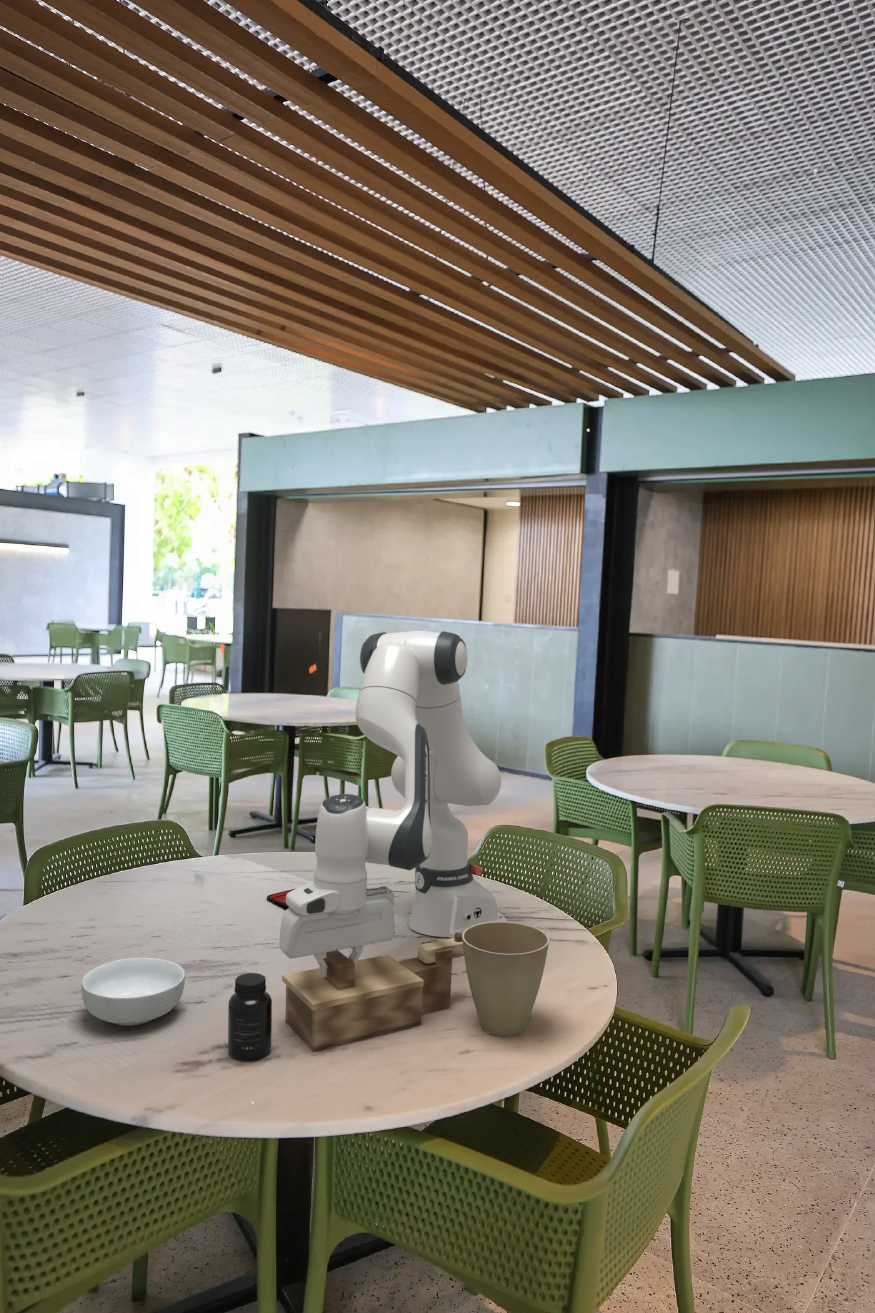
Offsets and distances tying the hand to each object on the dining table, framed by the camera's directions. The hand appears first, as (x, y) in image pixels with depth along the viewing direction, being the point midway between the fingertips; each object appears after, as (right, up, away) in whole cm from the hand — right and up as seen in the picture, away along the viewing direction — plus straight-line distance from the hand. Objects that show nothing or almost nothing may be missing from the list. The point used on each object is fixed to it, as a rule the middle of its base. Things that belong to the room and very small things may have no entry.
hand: (337, 973), depth 157 cm
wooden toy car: (+18, -1, +11) cm, 21 cm away
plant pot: (+28, -10, +3) cm, 30 cm away
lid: (+2, -4, +2) cm, 5 cm away
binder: (-12, -5, +65) cm, 66 cm away
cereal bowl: (-35, -8, +2) cm, 36 cm away
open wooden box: (+6, -9, +4) cm, 12 cm away
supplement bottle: (-13, -10, -9) cm, 18 cm away
